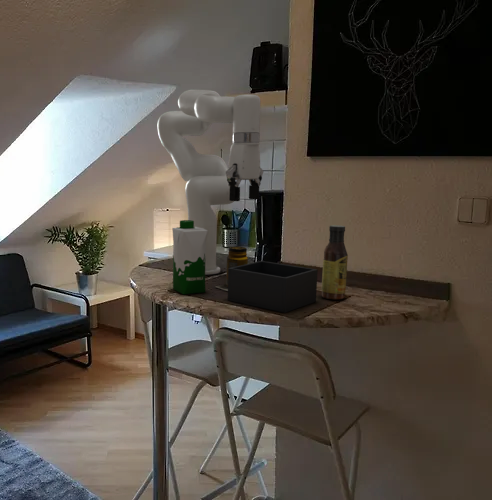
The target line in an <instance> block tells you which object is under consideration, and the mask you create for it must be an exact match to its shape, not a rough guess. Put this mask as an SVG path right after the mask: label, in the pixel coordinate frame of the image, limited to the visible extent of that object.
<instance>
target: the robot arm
mask: <svg viewBox="0 0 492 500" xmlns="http://www.w3.org/2000/svg"><path fill="white" fill-rule="evenodd" d="M177 105H178V108H179V110H170V111H165V112H164V113H162V114H161V115H160V116H159V118H158V120H157V134H158V138H159V141H160V143H161V145H162V146H163V148H164V149H165V150H166V152H167V153H168V154H169V156H170V157H171V159H172V162H173V163H174V165H175V167H176V169H177V171H178V173H179V175H180V177H181V178H182V179H183V181H184V182H186V184H185V188H184V190H185V191H184V193H185V199H186V205H187V220H192V221H194V227H198V228H203V229H205V230H208V234H207V240H206V261H205V276H210V275H217V274H220V273H221V271H222V270H221V267H220V266H218V265H217V242H218V241H217V237H218V218H217V215H216V213H215V211H214V210H213V208H212V206H219V205H220V206H224V205H230V204H233V203H235V202H240V201H241V186H240V184H241V183H242V181H248V182H249V184H250V185H248V198H249V200H259V199H260V186H261V182H262V179H263V175H264V169H263V168H261V151H260V135H261V134H260V131H261V129H260V128H261V127H260V126H261V98H260V96H259V95H257V94H239V95H236V96H228V95H227V96H225V95H220V93H218V92H217V91H215V90H212V89H211V90H210V89H194V88H193V89H187V90H184V91H183V92H182V93H181V94H180V95H179V97H178V100H177ZM214 123H215V124H232V144H231V145H230V150H229V157H228V165H227V163H226V161H225V160H224V159H223V158H222V157H221V156H219V155H217V154H211V153H209V154H208V153H207V154H205V153H199V152H198V151H197V149H196V148H195V146H194V145H193V143H192V142H191V141H190V140H189V139H187V138H186V137H201V136H203V135H205V133H207V131H208V130H209V129H210V127H211V125H212V124H214Z"/></svg>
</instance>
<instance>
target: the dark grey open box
mask: <svg viewBox="0 0 492 500" xmlns="http://www.w3.org/2000/svg"><path fill="white" fill-rule="evenodd" d="M318 270H319V269H316V268H310V267H304V266H298V265H292V264H291V265H290V264H284V263H279V262H271V261H266V260H265V261H264V260H258V261H254V262H249V263H248V264H245V265H241V266H236V267H232V268H228V291H227V301H229V302H234V303H238V304H243V305H248V306H252V307H255V308H256V307H257V308H261V309H265V310H270V311H274V312H279V313H284V314H286V313H289V312H291V311H294V310H296V309H300V308H302V307H305V306H307V305H311V304H313V303H316V302H317V291H318V290H317V289H318V272H319V271H318Z"/></svg>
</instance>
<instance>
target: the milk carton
mask: <svg viewBox="0 0 492 500" xmlns="http://www.w3.org/2000/svg"><path fill="white" fill-rule="evenodd" d="M207 234H208V230H205V229H203V228H198V227H194V221H192V220H188V219H184V220H183V219H182V220H181V219H180V220H179V227H178V226H177V227H172V241H173V242H172V244H173V245H172V248H173V249H172V257H173V258H172V290H174V291H176V292H178V293H180V294H181V295H194V294H203V293H206V275H205V261H206V240H207Z"/></svg>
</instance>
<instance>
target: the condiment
mask: <svg viewBox="0 0 492 500" xmlns="http://www.w3.org/2000/svg"><path fill="white" fill-rule="evenodd" d="M247 252H248V249H247V247H244V246H229V247H228V253H227V254H228V255H227V257H226V274H225V275H226V276H225V277H226V279H225V280H226V281H225V284H222V285H215V288H217V289H219V290H223V291H227V292H228V268H232V267H236V266H241V265H245V264H249V258H248V256H247V255H248V253H247Z"/></svg>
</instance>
